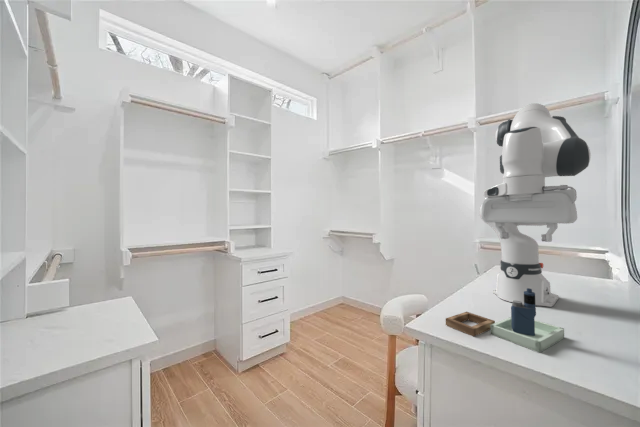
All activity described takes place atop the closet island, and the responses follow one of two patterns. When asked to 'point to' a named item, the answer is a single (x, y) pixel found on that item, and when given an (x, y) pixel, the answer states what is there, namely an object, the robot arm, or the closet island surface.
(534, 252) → the robot arm
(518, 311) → the vaping device
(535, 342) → the tray
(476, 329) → the holder
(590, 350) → the closet island surface
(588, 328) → the closet island surface
